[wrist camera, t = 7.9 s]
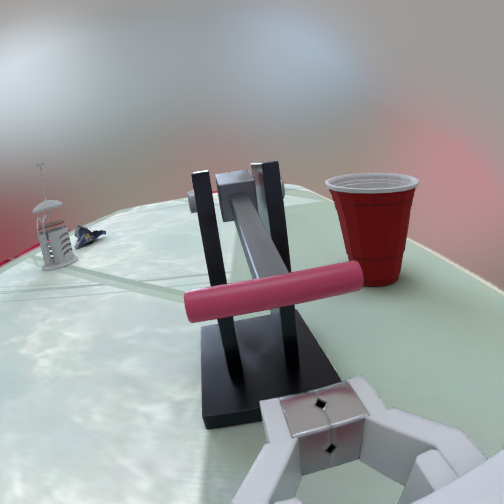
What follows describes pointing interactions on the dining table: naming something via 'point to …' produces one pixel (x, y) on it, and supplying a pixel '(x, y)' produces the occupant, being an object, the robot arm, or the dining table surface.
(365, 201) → the plastic cup
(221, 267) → the bracket
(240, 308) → the lever
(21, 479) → the dining table surface
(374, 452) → the robot arm
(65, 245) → the french press
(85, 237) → the snack package
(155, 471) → the dining table surface
